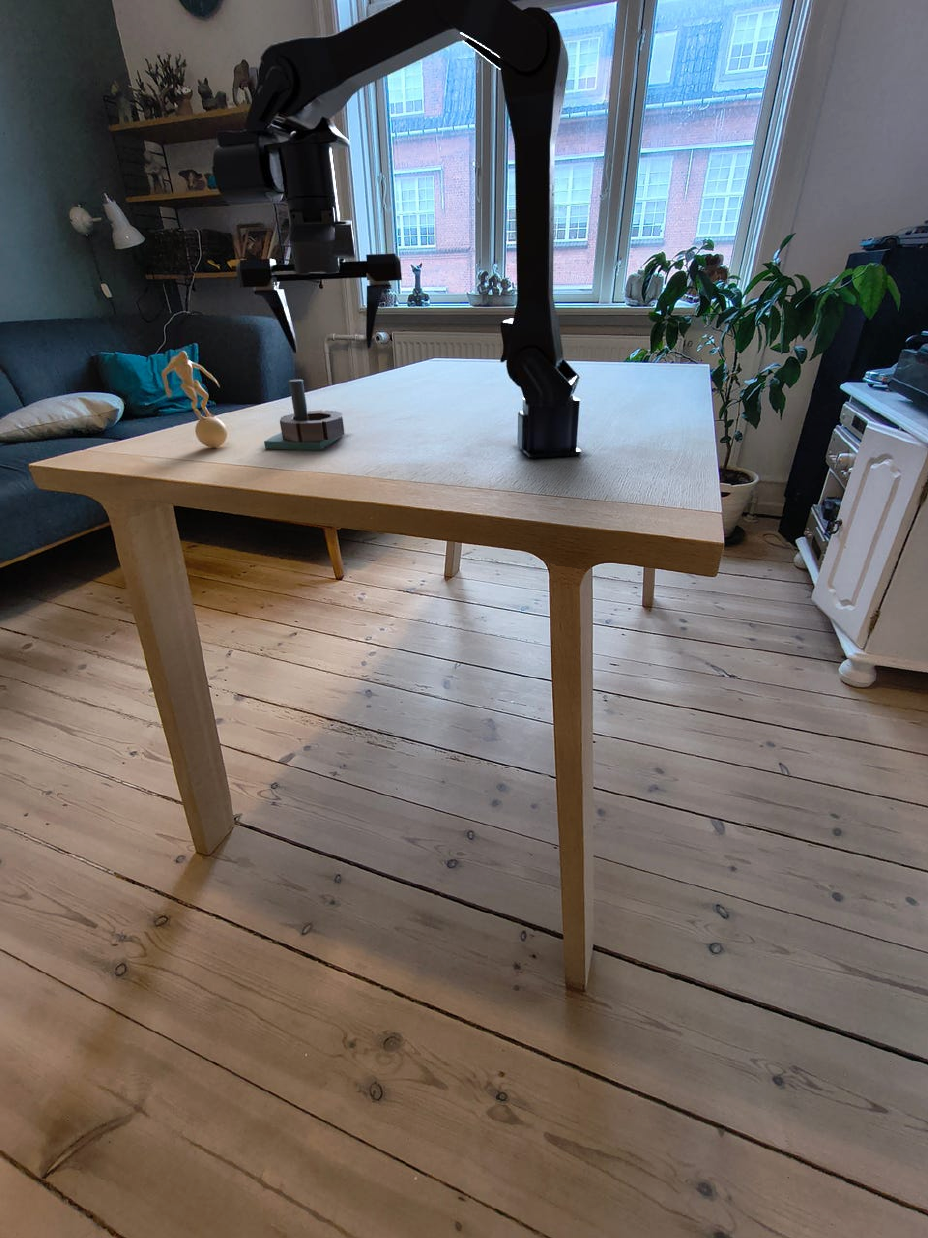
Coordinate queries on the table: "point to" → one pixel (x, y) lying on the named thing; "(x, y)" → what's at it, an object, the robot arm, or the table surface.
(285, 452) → the table surface
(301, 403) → the peg stand
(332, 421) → the ring
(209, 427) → the figurine
